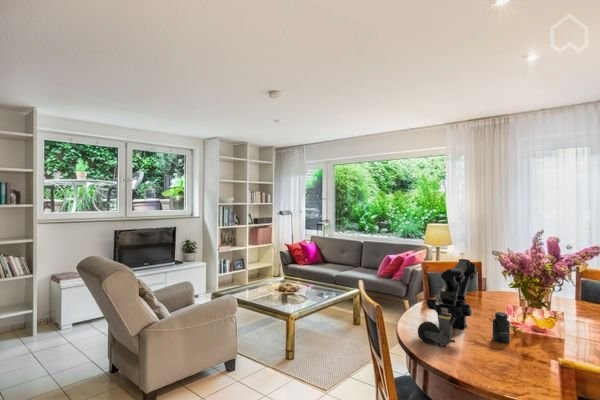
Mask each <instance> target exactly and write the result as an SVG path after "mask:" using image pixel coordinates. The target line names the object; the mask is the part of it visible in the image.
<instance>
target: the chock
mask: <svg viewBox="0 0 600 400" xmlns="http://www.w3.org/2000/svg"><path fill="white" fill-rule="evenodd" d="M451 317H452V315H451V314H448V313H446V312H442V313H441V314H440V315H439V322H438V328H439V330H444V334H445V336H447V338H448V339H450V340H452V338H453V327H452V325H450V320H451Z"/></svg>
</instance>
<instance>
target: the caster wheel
mask: <svg viewBox="0 0 600 400" xmlns="http://www.w3.org/2000/svg"><path fill="white" fill-rule="evenodd" d="M417 335H418V337H419V339H420V340H421V341H422V342H423V343H425V344H429V345H431V344H435V343H438V344H439V345H440V348H441V347H442V348H444V346H448V344H449V343H453V344H454V343H456V340H455V339H448V338H447V336H445V334H444V330H439V326H437V324H436V323H434V322H432V321H429V320H428V321H423V322H422V323H420V324H419V326H418V328H417Z"/></svg>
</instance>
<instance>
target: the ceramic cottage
mask: <svg viewBox="0 0 600 400" xmlns="http://www.w3.org/2000/svg"><path fill="white" fill-rule="evenodd" d="M445 288H446V286H445V285H444V284H443V288H441V289H440V290H439V291H438V292H437V293H436V294H435V299H436V301H437V302H440V303H442V302H441V298H440V291H445ZM441 310H442V312H443V313H448V309H447V308H441Z"/></svg>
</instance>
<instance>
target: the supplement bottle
mask: <svg viewBox="0 0 600 400" xmlns="http://www.w3.org/2000/svg"><path fill="white" fill-rule="evenodd" d="M508 319H509V318H508V314H507V313H506V312H501V311H496V312H495V313H494V318H493V319H492V339H493V341H494V342H497V343H500V344H508V343H510V341H511V322H510V321H509V320H508Z"/></svg>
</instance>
